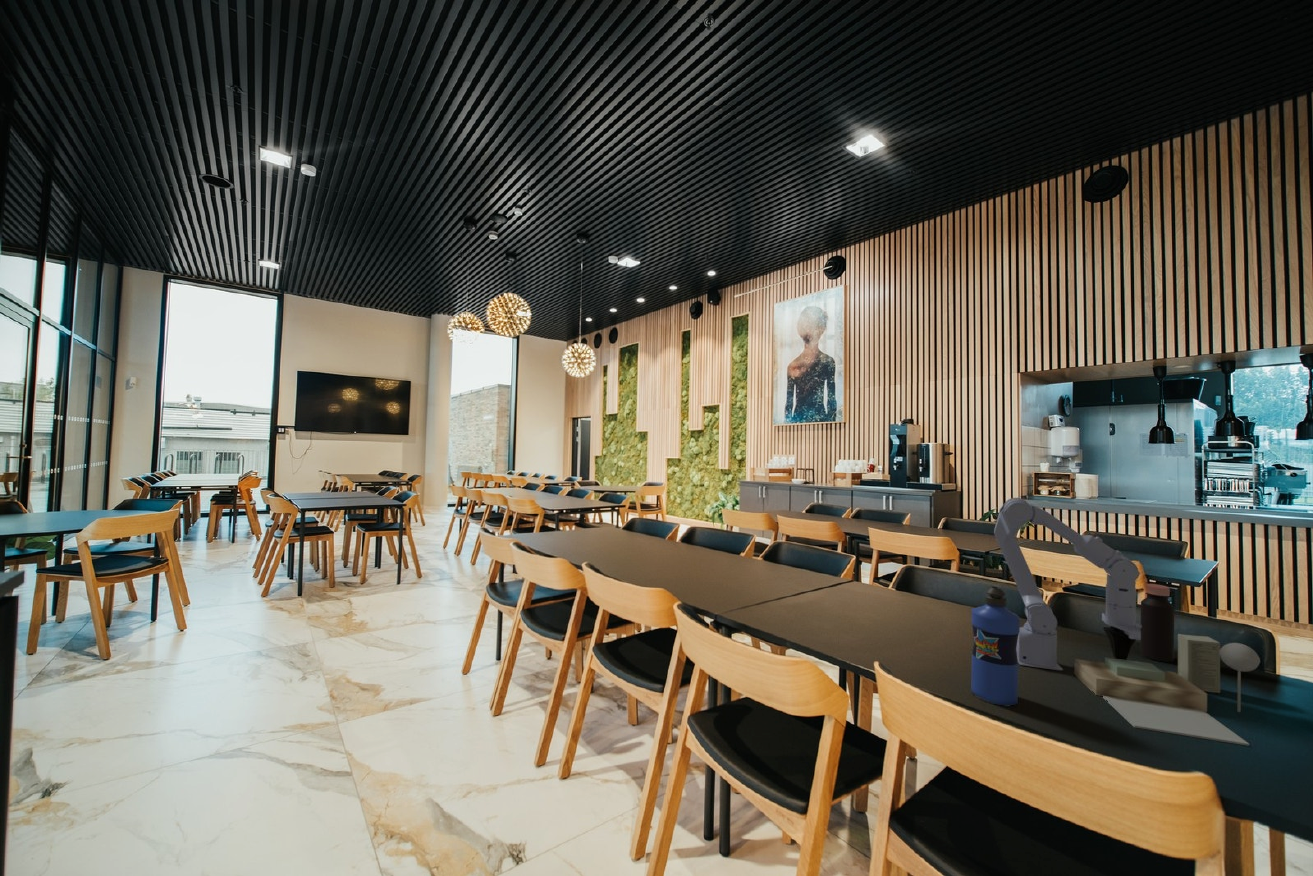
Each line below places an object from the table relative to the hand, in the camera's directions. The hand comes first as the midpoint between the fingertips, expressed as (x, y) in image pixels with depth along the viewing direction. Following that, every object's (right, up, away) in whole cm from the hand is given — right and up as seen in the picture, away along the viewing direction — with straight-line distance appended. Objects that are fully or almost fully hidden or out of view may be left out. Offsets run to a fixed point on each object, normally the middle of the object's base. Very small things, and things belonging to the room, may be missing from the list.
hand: (1120, 658), depth 132 cm
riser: (-3, -5, -7) cm, 9 cm away
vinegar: (+23, -6, +14) cm, 28 cm away
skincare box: (+15, -6, -4) cm, 17 cm away
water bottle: (-39, -4, -11) cm, 41 cm away
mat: (-7, -5, -20) cm, 22 cm away
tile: (-2, -1, -6) cm, 7 cm away
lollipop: (+12, -5, -16) cm, 21 cm away
